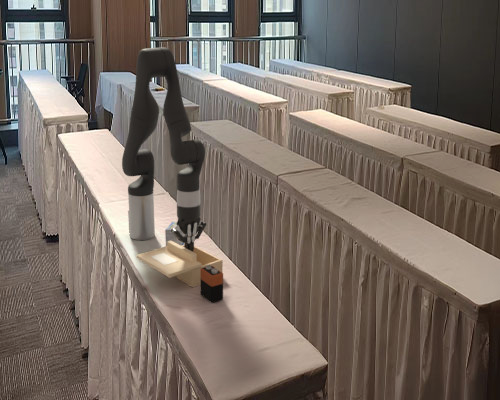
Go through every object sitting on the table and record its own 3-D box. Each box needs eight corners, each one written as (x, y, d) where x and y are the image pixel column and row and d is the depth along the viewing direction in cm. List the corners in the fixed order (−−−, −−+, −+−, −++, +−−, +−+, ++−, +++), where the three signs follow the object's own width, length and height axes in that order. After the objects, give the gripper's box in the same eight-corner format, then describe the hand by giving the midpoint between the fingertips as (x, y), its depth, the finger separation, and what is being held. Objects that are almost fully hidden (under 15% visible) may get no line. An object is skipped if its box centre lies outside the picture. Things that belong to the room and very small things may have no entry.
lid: (136, 257, 204) (136, 247, 202) (168, 248, 211) (168, 238, 210) (169, 277, 191) (168, 266, 189) (201, 266, 198) (201, 255, 197)
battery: (211, 303, 189) (211, 273, 185) (199, 294, 194) (199, 265, 191) (223, 300, 191) (223, 270, 188) (212, 291, 196) (212, 262, 193)
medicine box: (177, 253, 223) (177, 230, 221) (165, 251, 224) (165, 229, 221) (184, 244, 231) (183, 222, 228) (172, 243, 232) (172, 221, 229)
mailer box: (160, 268, 211) (160, 251, 209) (189, 258, 219) (189, 243, 217) (192, 287, 199) (192, 270, 197) (222, 276, 206) (222, 260, 204)
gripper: (198, 195, 207) (198, 243, 213) (164, 203, 199) (165, 253, 204) (212, 201, 202) (212, 250, 207) (178, 209, 193) (179, 261, 199)
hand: (189, 252), depth 206 cm, fingers closed
